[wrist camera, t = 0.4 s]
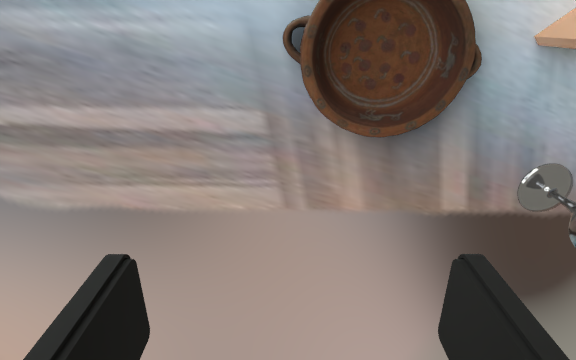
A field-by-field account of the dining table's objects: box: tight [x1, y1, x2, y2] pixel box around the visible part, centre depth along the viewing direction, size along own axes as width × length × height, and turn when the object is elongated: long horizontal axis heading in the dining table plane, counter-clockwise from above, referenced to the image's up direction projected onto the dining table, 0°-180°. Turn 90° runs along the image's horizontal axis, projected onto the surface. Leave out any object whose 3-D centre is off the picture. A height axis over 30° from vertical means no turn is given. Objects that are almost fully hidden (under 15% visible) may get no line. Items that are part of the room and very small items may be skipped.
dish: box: [283, 0, 482, 137], centre depth 40 cm, size 18×22×5 cm
